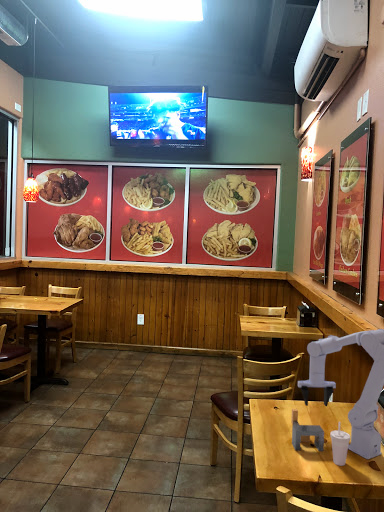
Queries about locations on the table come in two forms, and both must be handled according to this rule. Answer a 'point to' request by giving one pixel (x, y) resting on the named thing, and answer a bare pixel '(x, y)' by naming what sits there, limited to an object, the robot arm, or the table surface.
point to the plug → (295, 422)
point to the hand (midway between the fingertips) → (315, 405)
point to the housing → (307, 431)
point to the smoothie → (339, 446)
